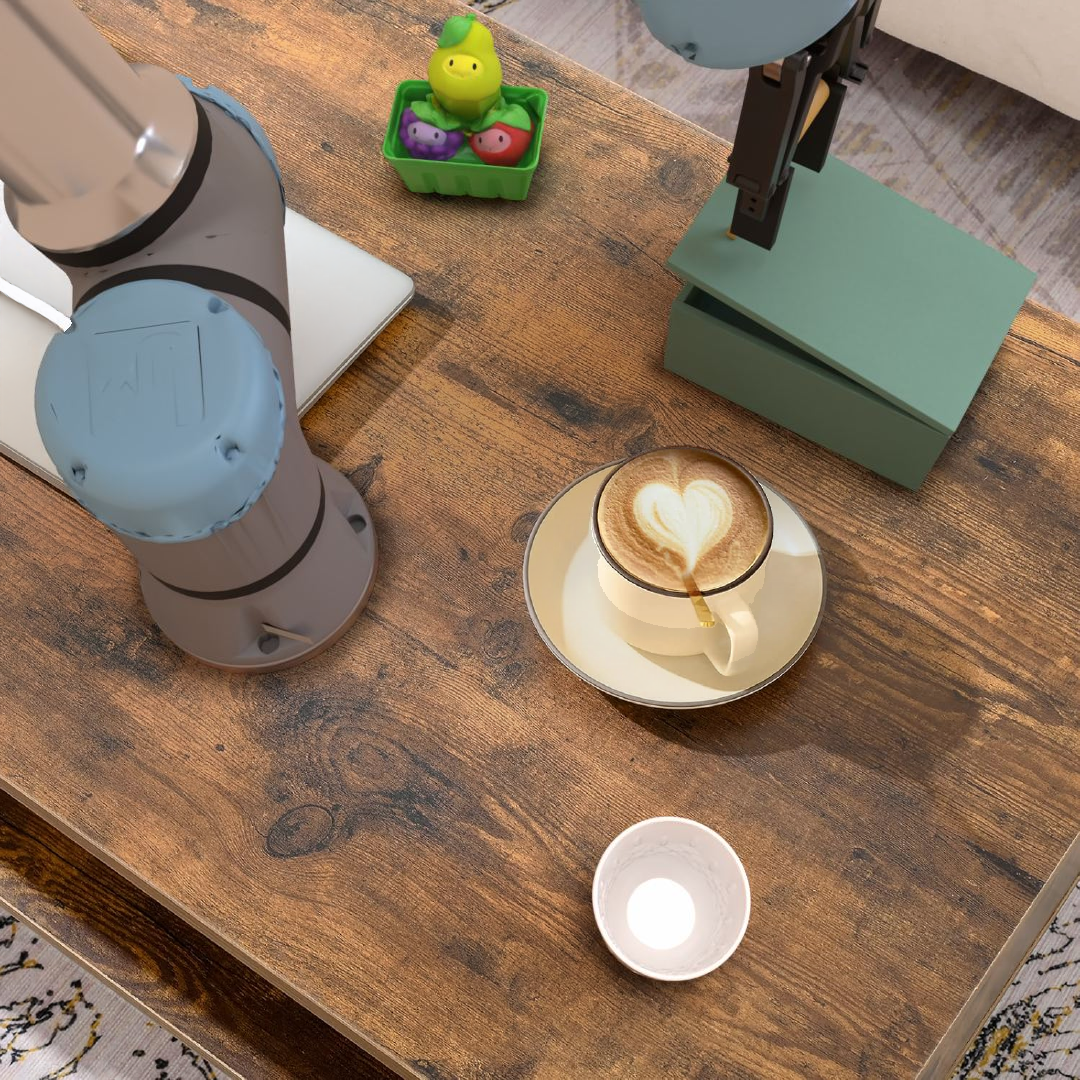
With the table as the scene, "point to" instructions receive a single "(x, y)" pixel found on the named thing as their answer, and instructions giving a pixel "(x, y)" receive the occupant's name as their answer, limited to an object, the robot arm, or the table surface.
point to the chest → (795, 389)
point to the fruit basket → (465, 121)
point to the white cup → (671, 899)
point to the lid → (865, 285)
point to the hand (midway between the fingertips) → (777, 198)
